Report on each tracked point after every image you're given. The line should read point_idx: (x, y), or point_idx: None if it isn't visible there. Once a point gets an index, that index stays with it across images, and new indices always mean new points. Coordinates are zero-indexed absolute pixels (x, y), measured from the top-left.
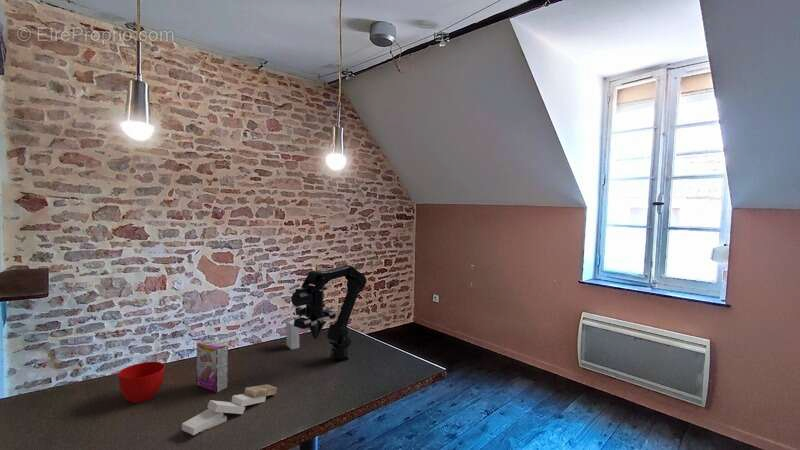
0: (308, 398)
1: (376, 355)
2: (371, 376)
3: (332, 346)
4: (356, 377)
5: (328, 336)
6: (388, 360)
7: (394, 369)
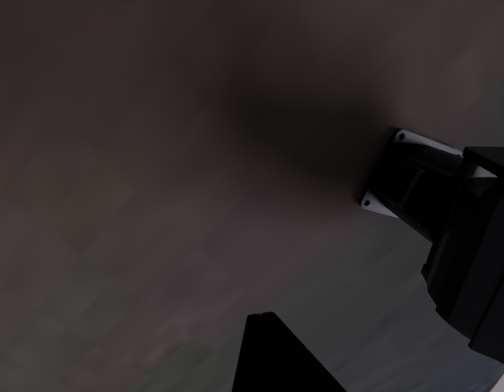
0: (21, 356)
1: None
2: None
3: (437, 183)
4: None
5: (485, 217)
6: None
7: (402, 378)
